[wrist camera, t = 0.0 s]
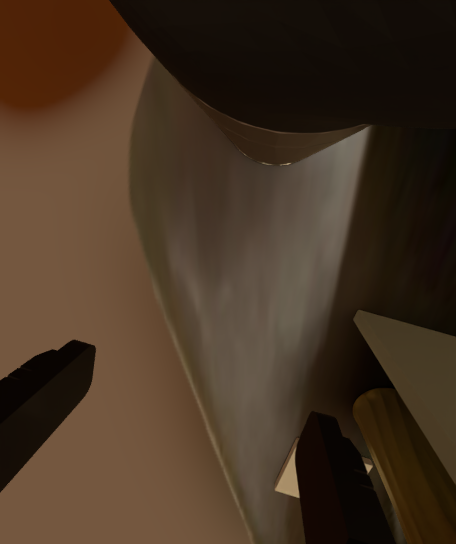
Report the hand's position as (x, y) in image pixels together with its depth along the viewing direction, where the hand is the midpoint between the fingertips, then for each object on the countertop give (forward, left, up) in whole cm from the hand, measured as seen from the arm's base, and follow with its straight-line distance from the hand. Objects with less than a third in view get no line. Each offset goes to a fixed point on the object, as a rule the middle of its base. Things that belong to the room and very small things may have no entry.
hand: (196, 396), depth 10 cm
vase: (+12, +19, -17) cm, 29 cm away
